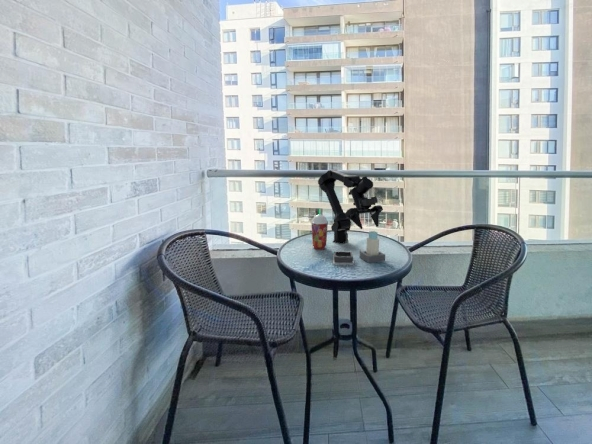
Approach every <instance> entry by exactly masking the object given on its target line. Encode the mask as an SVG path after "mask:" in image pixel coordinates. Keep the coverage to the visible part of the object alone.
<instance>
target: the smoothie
mask: <svg viewBox="0 0 592 444" xmlns="http://www.w3.org/2000/svg"><path fill="white" fill-rule="evenodd" d="M328 223H329V221H328V220H327V217H326V216H325V215H323V214H321V208H319V209H318V214H316V215H314V216H313V218H312V219H311V222H310V224H311V235H312V237H311V238H312V239H311V240H312V247H313V249H315V250H324V249H325V248H326V246H327V237H328Z"/></svg>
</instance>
